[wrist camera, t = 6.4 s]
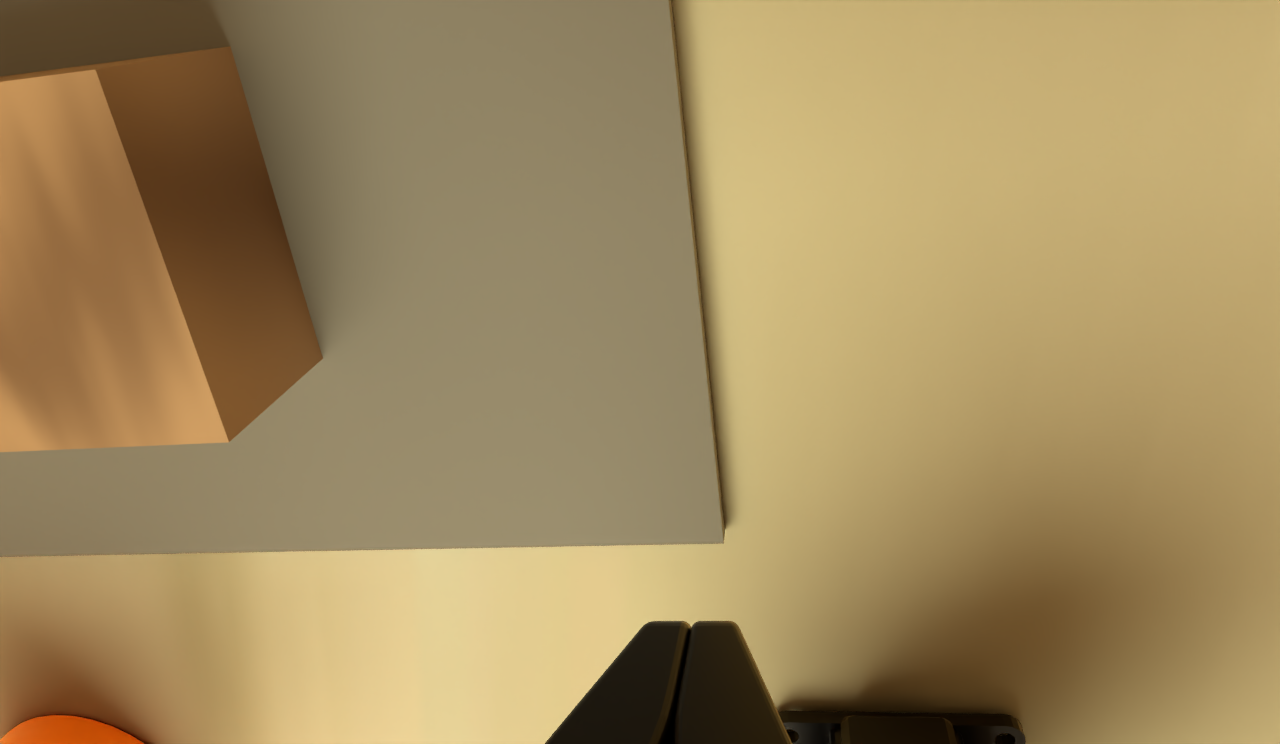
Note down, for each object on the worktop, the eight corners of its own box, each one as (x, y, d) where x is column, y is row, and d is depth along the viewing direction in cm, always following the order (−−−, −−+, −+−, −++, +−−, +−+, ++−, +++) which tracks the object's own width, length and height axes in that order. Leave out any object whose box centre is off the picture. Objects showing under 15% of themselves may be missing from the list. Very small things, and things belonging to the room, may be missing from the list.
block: (228, 442, 17) (-150, 458, 19) (322, 358, 21) (-3, 377, 23) (95, 69, 14) (-338, 126, 16) (230, 46, 18) (-135, 94, 20)
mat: (724, 531, 22) (723, 543, 22) (-27, 547, 26) (-41, 557, 25) (633, -372, 15) (630, -381, 14) (-396, -160, 19) (-425, -163, 18)
